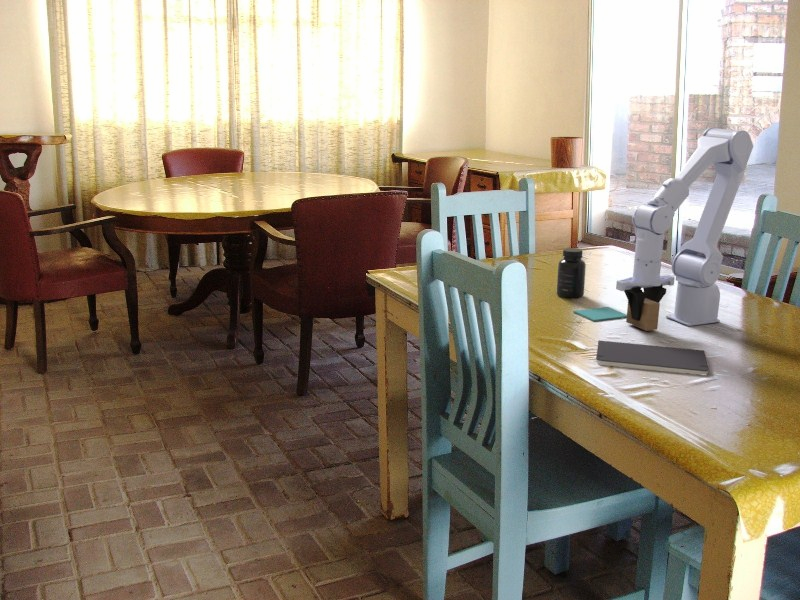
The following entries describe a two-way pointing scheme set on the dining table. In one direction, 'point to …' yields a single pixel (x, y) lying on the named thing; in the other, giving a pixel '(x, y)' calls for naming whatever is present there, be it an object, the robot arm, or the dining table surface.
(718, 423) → the dining table surface
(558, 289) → the supplement bottle
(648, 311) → the brown block
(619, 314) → the teal mat
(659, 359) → the notebook
